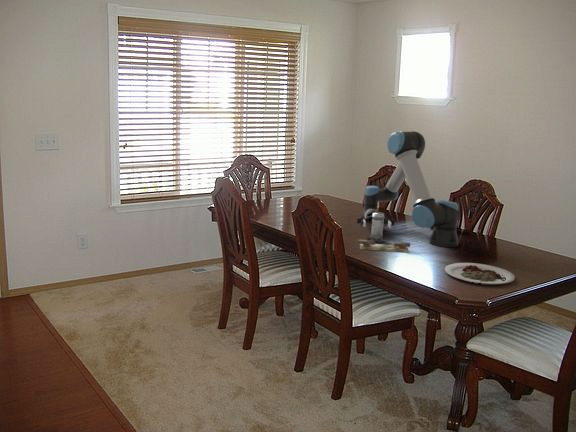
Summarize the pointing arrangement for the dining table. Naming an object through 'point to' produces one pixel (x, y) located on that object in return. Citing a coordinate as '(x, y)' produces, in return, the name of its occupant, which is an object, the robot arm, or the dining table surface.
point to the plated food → (479, 273)
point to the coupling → (377, 226)
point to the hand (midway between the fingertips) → (377, 225)
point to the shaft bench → (384, 246)
